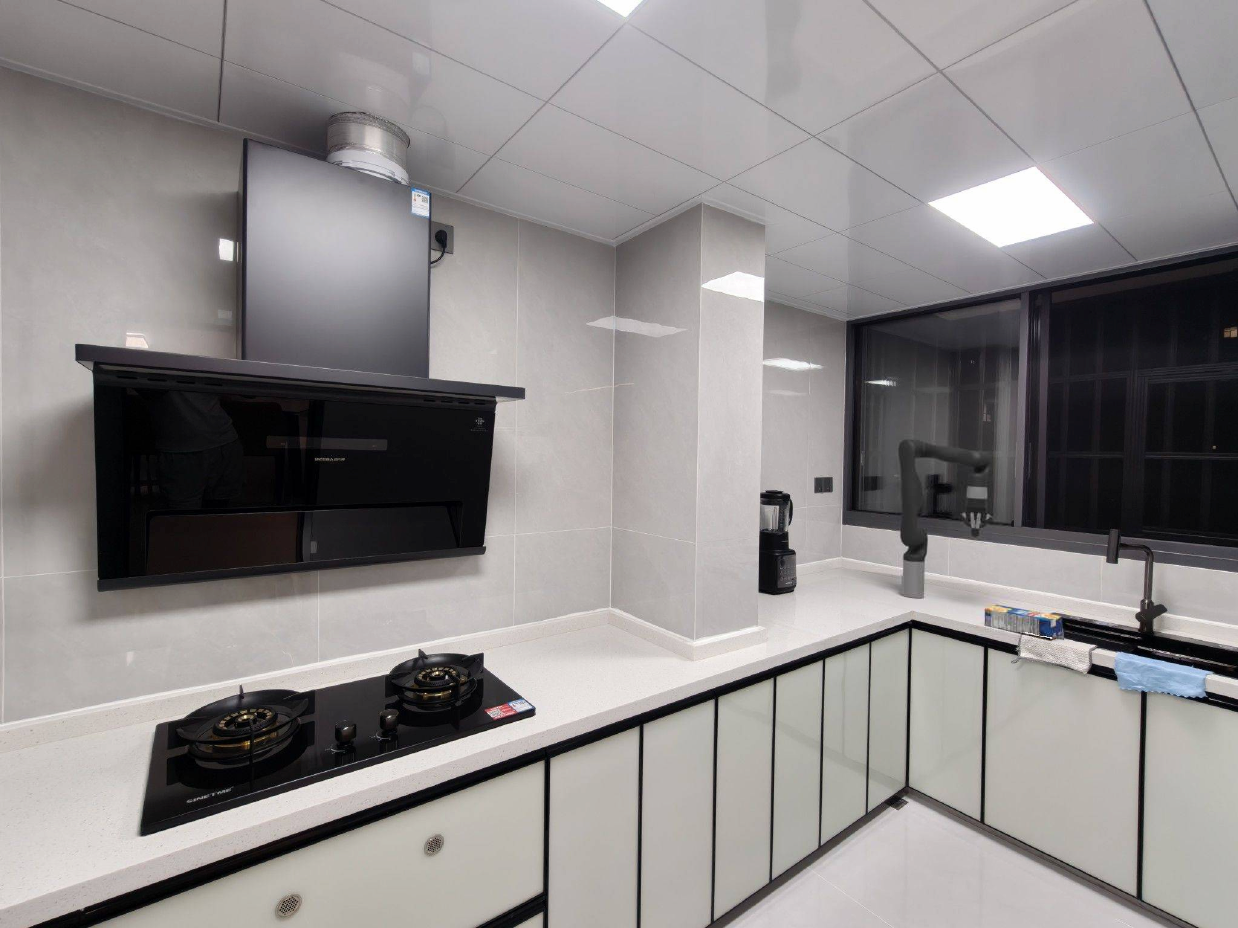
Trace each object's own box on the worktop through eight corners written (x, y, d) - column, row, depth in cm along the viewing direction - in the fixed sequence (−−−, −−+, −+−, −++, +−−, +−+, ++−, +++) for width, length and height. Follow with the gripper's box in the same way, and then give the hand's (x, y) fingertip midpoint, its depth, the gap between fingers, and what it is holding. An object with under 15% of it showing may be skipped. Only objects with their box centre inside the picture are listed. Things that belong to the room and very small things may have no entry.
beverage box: (984, 608, 223) (1050, 620, 205) (996, 604, 229) (1062, 616, 211) (984, 625, 223) (1050, 639, 205) (997, 621, 229) (1062, 634, 211)
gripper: (957, 496, 243) (956, 536, 244) (994, 498, 235) (992, 539, 236) (960, 495, 249) (958, 534, 250) (995, 497, 241) (994, 537, 242)
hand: (975, 536), depth 243 cm, fingers closed
